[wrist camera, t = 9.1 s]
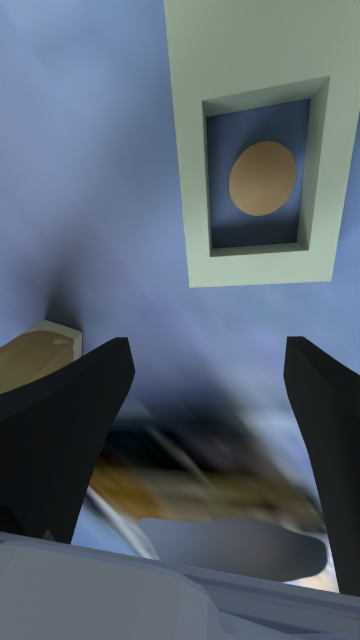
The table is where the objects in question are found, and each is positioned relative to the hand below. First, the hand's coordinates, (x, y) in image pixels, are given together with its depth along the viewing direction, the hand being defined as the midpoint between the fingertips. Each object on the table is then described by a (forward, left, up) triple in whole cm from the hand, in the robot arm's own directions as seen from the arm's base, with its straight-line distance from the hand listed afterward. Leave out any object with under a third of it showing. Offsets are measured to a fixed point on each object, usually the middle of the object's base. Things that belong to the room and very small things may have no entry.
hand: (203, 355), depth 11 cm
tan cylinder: (-3, -7, -10) cm, 13 cm away
